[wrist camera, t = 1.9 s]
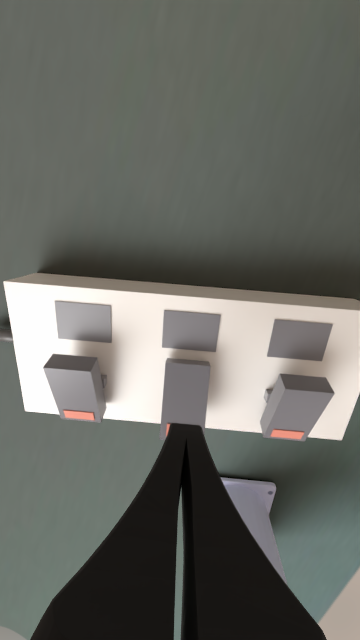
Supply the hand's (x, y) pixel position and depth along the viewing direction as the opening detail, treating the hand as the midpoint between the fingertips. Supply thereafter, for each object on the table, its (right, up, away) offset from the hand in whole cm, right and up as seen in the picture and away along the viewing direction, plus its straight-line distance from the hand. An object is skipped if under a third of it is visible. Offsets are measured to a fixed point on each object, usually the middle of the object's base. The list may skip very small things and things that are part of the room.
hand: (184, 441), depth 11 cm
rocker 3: (+7, 0, +5) cm, 9 cm away
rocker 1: (-7, +1, +5) cm, 9 cm away
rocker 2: (0, 0, +5) cm, 5 cm away
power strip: (-2, +3, +9) cm, 10 cm away
